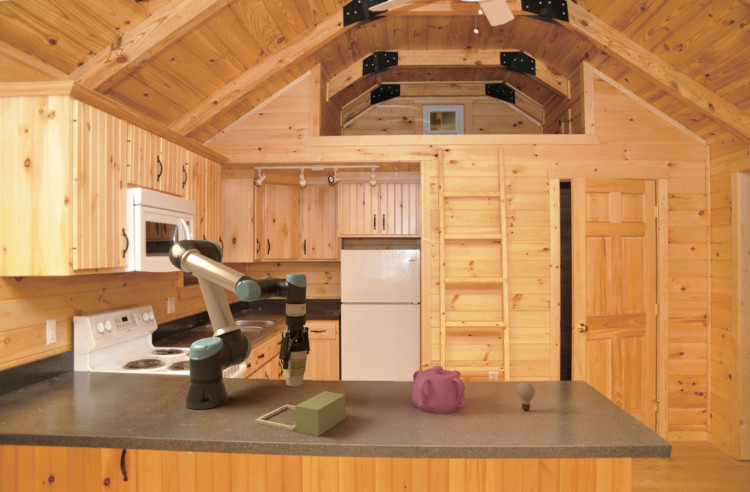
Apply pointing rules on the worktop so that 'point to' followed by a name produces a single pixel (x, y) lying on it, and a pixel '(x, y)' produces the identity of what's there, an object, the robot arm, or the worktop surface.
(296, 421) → the green block with frame
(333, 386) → the worktop surface
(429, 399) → the pink pot with handles
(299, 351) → the coffee cup
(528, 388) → the light bulb
